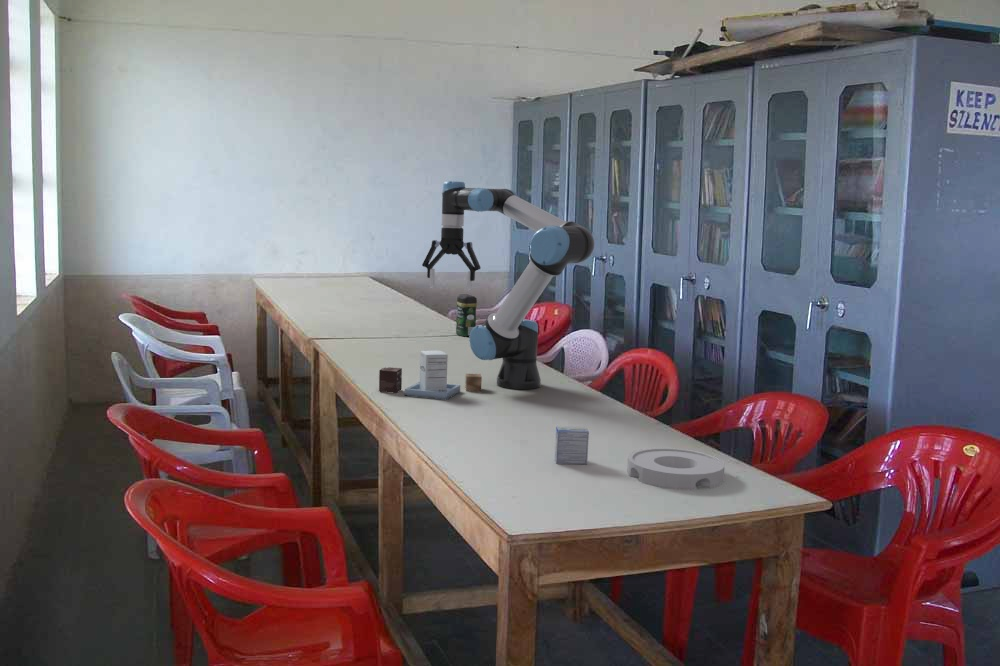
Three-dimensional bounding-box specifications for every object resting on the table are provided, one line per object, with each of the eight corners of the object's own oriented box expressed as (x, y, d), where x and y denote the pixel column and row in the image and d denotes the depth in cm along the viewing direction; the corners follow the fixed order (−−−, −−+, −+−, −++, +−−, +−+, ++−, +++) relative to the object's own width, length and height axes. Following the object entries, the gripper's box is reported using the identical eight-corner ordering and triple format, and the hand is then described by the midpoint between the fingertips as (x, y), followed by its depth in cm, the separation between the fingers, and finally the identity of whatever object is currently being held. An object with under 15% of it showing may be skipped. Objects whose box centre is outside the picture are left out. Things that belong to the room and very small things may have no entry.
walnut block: (480, 388, 333) (480, 374, 332) (481, 391, 328) (481, 376, 327) (465, 388, 332) (465, 373, 331) (466, 391, 327) (466, 376, 326)
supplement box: (418, 388, 323) (419, 350, 321) (440, 387, 326) (441, 350, 324) (424, 393, 316) (425, 354, 314) (447, 392, 319) (448, 354, 317)
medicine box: (585, 460, 250) (587, 426, 249) (587, 465, 246) (589, 431, 244) (554, 459, 250) (555, 425, 248) (555, 464, 245) (557, 430, 244)
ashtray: (714, 496, 225) (716, 479, 225) (616, 482, 234) (617, 465, 233) (730, 471, 247) (731, 455, 246) (639, 458, 255) (640, 443, 254)
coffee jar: (453, 334, 449) (454, 293, 446) (469, 333, 453) (470, 293, 450) (462, 337, 441) (463, 295, 438) (478, 336, 444) (479, 295, 441)
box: (396, 393, 319) (396, 371, 318) (378, 392, 320) (378, 369, 319) (401, 390, 325) (402, 368, 324) (384, 388, 326) (384, 366, 325)
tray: (460, 391, 326) (460, 385, 326) (446, 400, 312) (446, 393, 312) (419, 387, 329) (420, 381, 329) (404, 395, 316) (405, 389, 316)
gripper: (490, 228, 337) (488, 290, 340) (421, 224, 344) (420, 285, 347) (484, 229, 330) (482, 292, 333) (414, 225, 336) (412, 287, 340)
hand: (450, 289), depth 340 cm, fingers open, 13 cm apart
